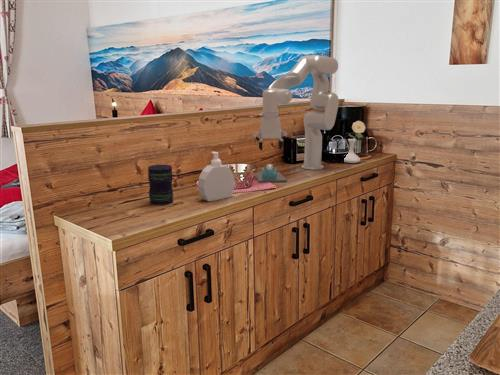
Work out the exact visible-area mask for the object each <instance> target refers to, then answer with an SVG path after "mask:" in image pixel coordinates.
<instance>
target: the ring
mask: <svg viewBox="0 0 500 375" xmlns="http://www.w3.org/2000/svg"><path fill="white" fill-rule="evenodd" d="M277 170H278V169H277V168H276V167H274V166H273V169H272V170H268V169H266V166H265V167H262V168H261V172H262V176H263V177H266V178H274V177H277V172H278V171H277Z"/></svg>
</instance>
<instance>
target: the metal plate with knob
mask: <svg viewBox="0 0 500 375" xmlns="http://www.w3.org/2000/svg"><path fill="white" fill-rule="evenodd" d="M265 167H266V169H268V170H272V169H273V167H274V164H272V163H267V164H266V165H265ZM255 172H256V171H255ZM255 177H256V178H255ZM254 178H255V180H258V181H257V182H258V184H263V183H262V182H270V184H271V183H273V184H274V183H288V179H287V178H286V177H285V176H284V175H283V174H282V173H281V172H280V171H277V177H274V178H266V177H263V176H262V171H260V172H259V171H258V172H256V173H255V176H254Z"/></svg>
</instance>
